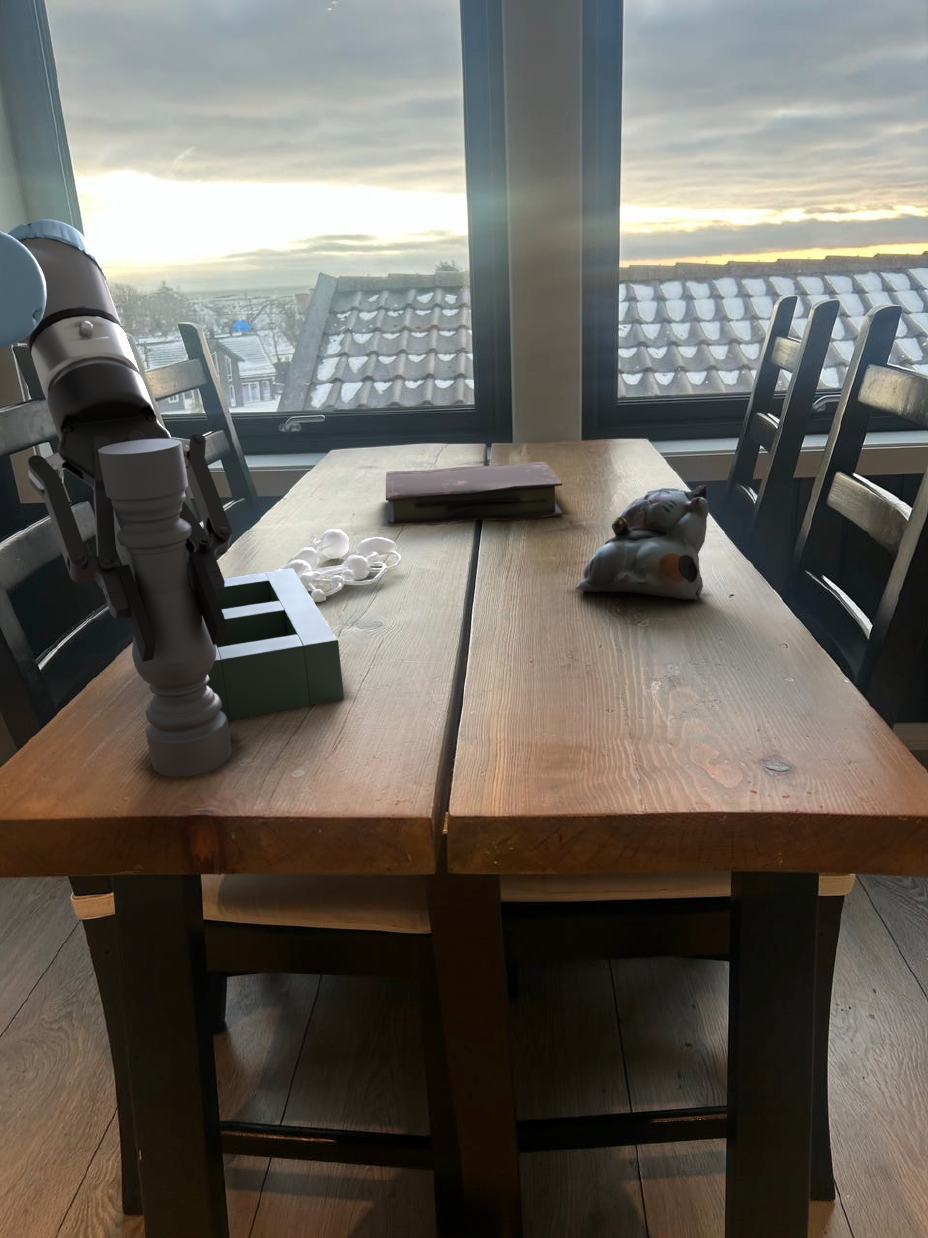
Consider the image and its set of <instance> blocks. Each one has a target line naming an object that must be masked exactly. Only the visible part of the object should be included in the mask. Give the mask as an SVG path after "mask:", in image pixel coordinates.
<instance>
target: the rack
mask: <svg viewBox="0 0 928 1238" xmlns="http://www.w3.org/2000/svg"><path fill="white" fill-rule="evenodd" d="M223 578H224V581H225V587H224V592H223V595H222V597H221V598H217V599H218V601H219V604H220V607H221V609H222V612H223V615H224V617H225V620H226V623H227V625H228V627H227V630H226V634H225V637H224V641H223V643H220V644H216V650H217V652H216V659H215V661H214V664H213V666H212V668H211V670H210V672H209V673H208V676H209V678H210V680H209V682H208V683H207V685H206V686H209V688H211V689H212V691H213V693H215V694H217V695H218V696H219V698H220V700H221V703H222V707H221V709H220V711H222V712H224V713H225V716H226V718H227V720H228V721H230V720H237V719H240V718H245V717H251V716H257V715H263V714H268V713H273V712H279V711H283V710H289V709H294V708H295V709H296V708H300V707H304V706H312V705H316V704H321V703H327V702H332V701H337V700H343V699H345V693H344V682H343V674H342V665H341V664H342V663H341V654H340V645H339V639H338V637H337V635H336V634H335V633H334V631H333V630H332V628H331V626H330V625H329V623H328V622H327V620H326V619H325V617H324V616H323V614H322V612H321V611H320V609H319V607H318V606H317V605H316V602H315V603H314V601H313V600H312V598H311V597H310V596H311V594H310V593H309V592H307V590H306V589H305V587H304V585H303V584H302V582H301V581H300V579H299V578H298V576H297V574H296V573H295V571H294V570H293V568H291V569H285V570H278V571H276V570H272V571H265V572H258V573H252V574H245V575H243V574H242V575H237V576H230V577H223Z"/></svg>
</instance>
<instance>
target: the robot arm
mask: <svg viewBox="0 0 928 1238" xmlns="http://www.w3.org/2000/svg"><path fill="white" fill-rule="evenodd" d="M16 344H26V345H27V348H28V351H29V354H30V357H31V360H32V361H33V365H34V367H35V371H36V374H37V376H38V380H39V384H40V386H41V390H42V392H43V395H44V397H45V400H46V402H47V407H48V410H49V414H50V416H51V420H52V422H53V425H54V428H55V431H56V434H57V438H58V439H59V443H58V446H57V452H55V453H53V454H51V455H48V456H46V457H43V456H42V455H37V454H35V455H31V456H29V458H28V459H27V466H28V468H27V471H28V482H29V484H30V486H31V487H32V488H33V489H34V490H35V491H36V492H37V493H38V495H39V497H41V498H42V499H43V501H44V503H45V507H46V509H47V513H48V514H49V519H50V521H51V524H52V527H53V530H54V533H55V535H56V539H57V541H58V545H59V548H60V550H61V554H62V557H63V560H64V562H65V566H66V569H67V571H68V575H69V577H70V579H71V580H72V581H73V582H76V583H83V582H85V581H86V580H87V581H94V582H97V585H98V587H99V589H101V590H102V591H103V595H104V598H105V601H106V603H107V607H108V610H109V612H110V615H111V616H112V618H114V620H115V621H118V620H123V619H128V622H129V625H130V629H131V631H132V635H134V638H135V641H136V643H137V646H138V649H139V652H140V655H141V658H142V661H143V662H144V661H149V660H153V658H154V651H155V645H156V641H155V638H154V635H153V632H152V630H151V627H150V624H149V621H148V618H147V615H146V612H145V609H144V606H143V603H142V601H141V598H140V595H139V592H138V589H137V586H136V583H135V578H134V573H133V571H132V569H131V566H130V564H123V565H117V544H116V543H117V542H116V528H115V527H116V526H115V509H114V508H113V506H112V499H110V498H108V497H107V495H106V491H105V486H104V480H103V475H102V469H101V464H100V458H99V453H98V450H99V449H100V448H102V447H105V446H108V445H112V444H116V443H122V442H127V441H135V440H144V439H175V440H180V441H181V442H182V448H183V454H184V461H185V467H186V474H187V480H188V487H189V488H190V491H191V495H192V496H193V499H194V502H195V505H196V507H197V510H198V513H199V517H200V519H201V522H202V525H203V526H202V525H201V523H200V522H199V521H198V519H197V518H196V516H195V515H194V513H193V512H192V510H191V509H190V508H189V506H188V504H187V502H186V501H184V502H183V505H182V511H181V512H180V514H179V516H180V518H181V519H183V520H185V521H186V522H188V523H189V524H190V526H191V528H192V533H191V535H190V536H189V537H188V538H187V539H186V542H187V543H186V544H185V545H184V546H185V553H186V555H187V556H188V558H187V565H188V572H189V578H190V583H191V586H192V588H193V591H194V593H195V596H196V598H197V600H198V603H199V605H200V609H201V613H202V616H203V619H204V622H205V624H206V627H207V630H208V633H209V635H210V638H211V641H212V643H213V645H216V644H220V643H223V641H224V637H225V634H226V630H227V627H228V625H227V623H226V620H225V617H224V615H223V612H222V609H221V607H220V604H219V601H218V599H217V598H221V597H222V595H223V592H224V587H225V581H224V578H225V577H224V576H223V573H222V570H221V568H220V565H219V562H218V560H217V556H219V555H225V554H226V553H228V550H229V547H230V543H231V538H232V535H233V529H232V527H231V524H230V522H229V519H228V516H227V514H226V510H225V508H224V506H223V502H222V500H221V497H220V495H219V491H218V489H217V487H216V484H215V481H214V479H213V476H212V473H211V470H210V467H209V465H208V462H207V460H206V445H207V440H206V437H205V436H204V435H203V434H201V433H194V434H192V435H191V436H190V438H189V439H187V438H180V437H174V436H171V434H170V432H169V431H168V430H167V429H166V428H165V427H163V426H162V425H161V423H160V422H159V419H158V418H157V414H156V411H155V408H154V406H153V403H152V400H151V398H150V395H149V393H148V390H147V387H146V385H145V382H144V379H143V378H142V377H141V372H140V369H139V367H138V365H137V362H136V358H135V356H134V353H133V352H132V349H131V346H130V344H129V341H128V339H127V336H126V333H125V331H124V328H123V326H122V323H121V320H120V317H119V314H118V311H117V309H116V306H115V303H114V301H113V298H112V295H111V293H110V289H109V287H108V282H107V277H106V274H105V272H104V270H103V267H102V266H101V265H100V263H99V261H98V258H97V256H96V254H95V251H94V250H93V248H92V247H91V245H90V243H89V242H88V240H87V239H86V237H85V236H84V235H83V234H82V232H80V231H79V230H78V229H77V228H75V227H73V226H71V225H70V224H68V223H65V222H62V221H60V220H55V219H45V218H43V219H42V218H39V219H37V220H36V221H35V222H31V223H20V224H18V225H17V226H14V227H13V228H12V229H11V230H10V231H9V232H7V233H6V232H4V231H1V230H0V349H1V348H5V347H9V346H12V345H16ZM64 470H66V471H68V472H69V473H70V474H72V475H73V476H75V477H76V478H78V479H79V480H81V481H82V482H83V483H85V484H87V485H88V486H90V487H91V488H92V490H93V508H94V524H95V525H94V526H95V528H94V529H95V543H96V544H95V546H96V547H95V548H96V555H88V553H87V549H86V547H85V544H84V541H83V538H82V536H81V533H80V532H81V531H80V530H79V527H78V524H77V522H76V519H75V515H74V513H73V509H72V507H71V504H70V500H69V498H68V495H67V492H66V489H65V486H64V481H65V473H64Z"/></svg>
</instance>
